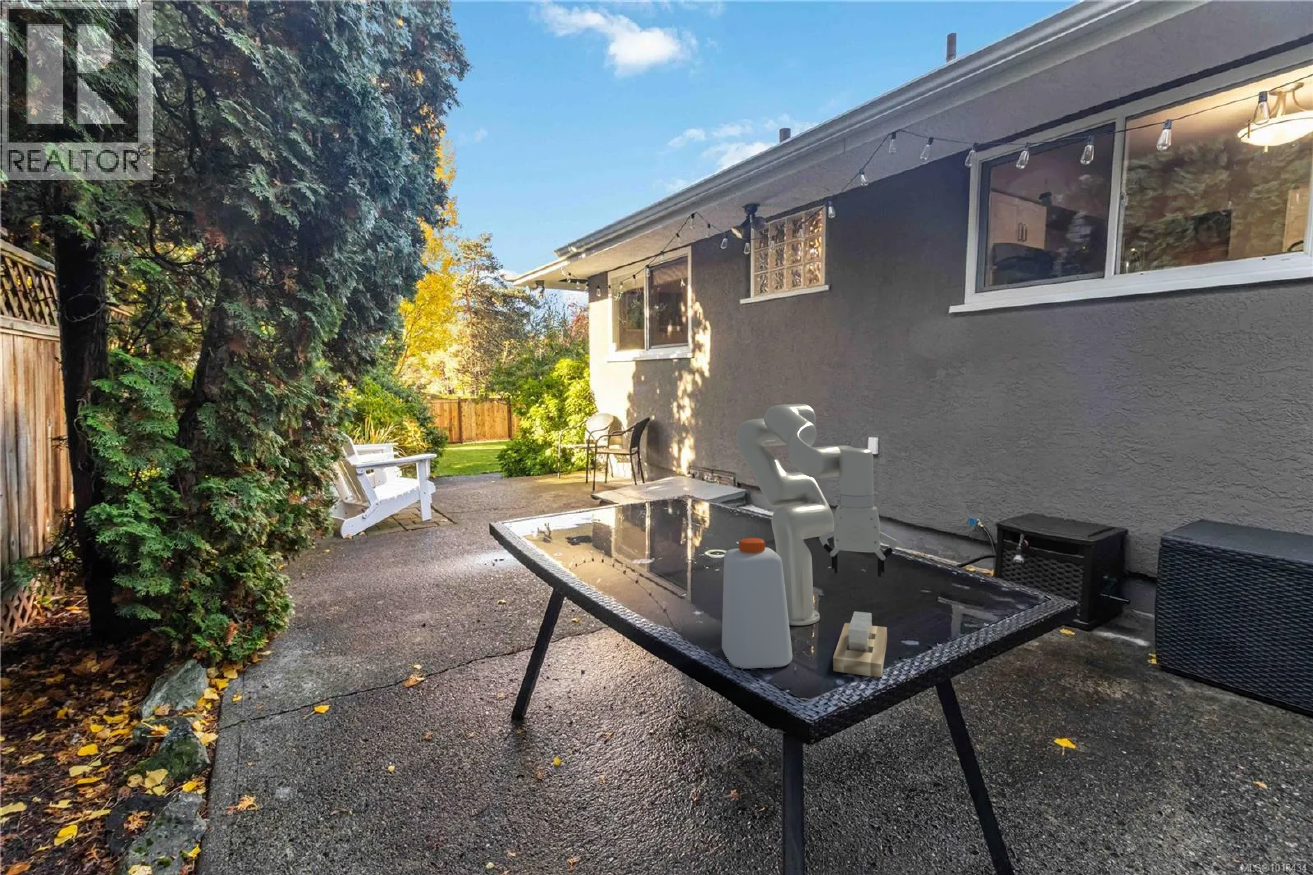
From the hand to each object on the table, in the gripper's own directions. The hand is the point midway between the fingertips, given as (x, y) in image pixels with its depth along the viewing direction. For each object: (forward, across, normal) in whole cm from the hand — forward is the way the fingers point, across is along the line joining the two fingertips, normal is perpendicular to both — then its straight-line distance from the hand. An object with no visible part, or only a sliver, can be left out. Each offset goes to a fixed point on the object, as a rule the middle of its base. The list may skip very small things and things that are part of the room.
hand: (858, 573), depth 136 cm
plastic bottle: (+20, -22, -10) cm, 31 cm away
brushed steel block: (+19, 0, 0) cm, 19 cm away
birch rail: (+19, 0, 0) cm, 19 cm away
